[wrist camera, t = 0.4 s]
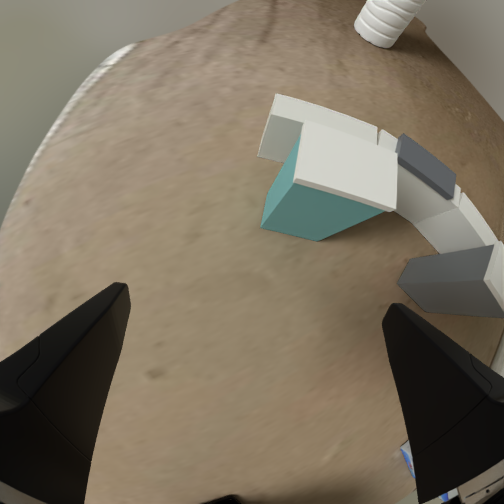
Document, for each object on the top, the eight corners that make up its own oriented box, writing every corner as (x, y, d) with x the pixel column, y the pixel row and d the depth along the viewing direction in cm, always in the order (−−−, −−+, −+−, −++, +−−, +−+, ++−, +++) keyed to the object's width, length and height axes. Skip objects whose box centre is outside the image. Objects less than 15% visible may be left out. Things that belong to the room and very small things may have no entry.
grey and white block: (425, 313, 24) (514, 320, 13) (395, 283, 24) (489, 279, 13) (438, 287, 25) (525, 284, 13) (409, 257, 25) (501, 240, 13)
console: (462, 240, 26) (511, 229, 19) (455, 272, 26) (506, 267, 18) (270, 122, 25) (289, 69, 17) (252, 154, 24) (267, 104, 17)
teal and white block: (318, 242, 24) (395, 209, 12) (258, 228, 23) (296, 178, 12) (323, 207, 24) (397, 153, 13) (266, 192, 24) (305, 119, 12)
